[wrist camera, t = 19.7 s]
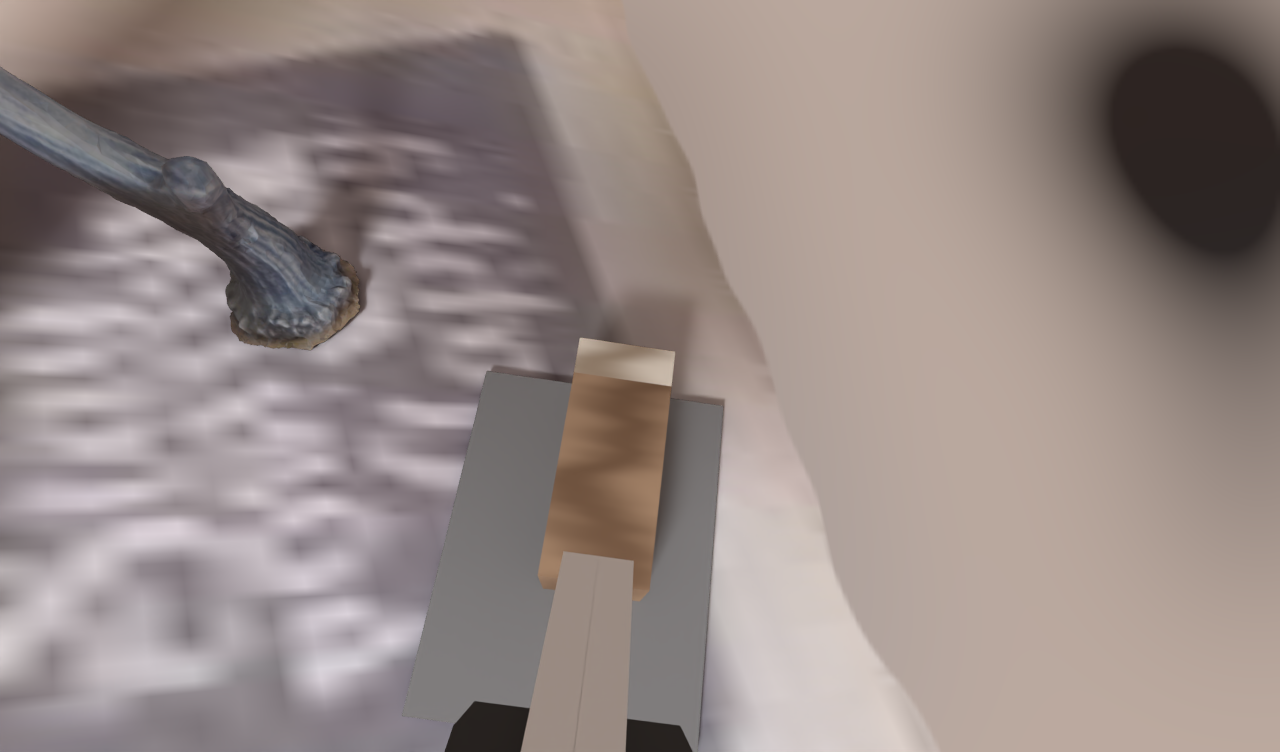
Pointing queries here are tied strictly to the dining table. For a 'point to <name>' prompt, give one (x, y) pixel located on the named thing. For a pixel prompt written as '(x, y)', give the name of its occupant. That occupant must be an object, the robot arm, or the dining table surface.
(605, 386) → the walnut block
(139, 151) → the antler
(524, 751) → the robot arm
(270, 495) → the dining table surface
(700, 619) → the charcoal rubber mat
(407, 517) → the dining table surface
